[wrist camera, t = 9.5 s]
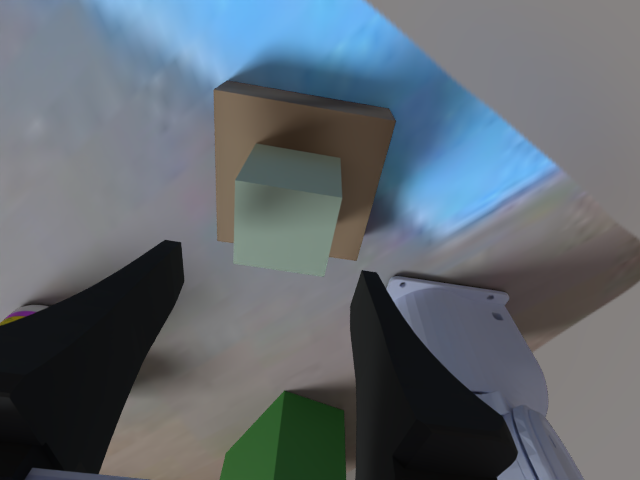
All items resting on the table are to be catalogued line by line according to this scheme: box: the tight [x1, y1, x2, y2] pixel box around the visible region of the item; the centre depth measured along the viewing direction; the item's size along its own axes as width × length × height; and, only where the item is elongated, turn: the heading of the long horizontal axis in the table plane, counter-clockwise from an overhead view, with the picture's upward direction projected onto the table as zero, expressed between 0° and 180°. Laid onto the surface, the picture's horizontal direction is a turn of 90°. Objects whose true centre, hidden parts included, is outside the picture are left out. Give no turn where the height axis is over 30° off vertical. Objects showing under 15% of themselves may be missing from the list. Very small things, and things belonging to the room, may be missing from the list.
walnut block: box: [214, 80, 396, 261], centre depth 20 cm, size 9×9×3 cm
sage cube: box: [233, 143, 342, 277], centre depth 17 cm, size 4×4×4 cm
